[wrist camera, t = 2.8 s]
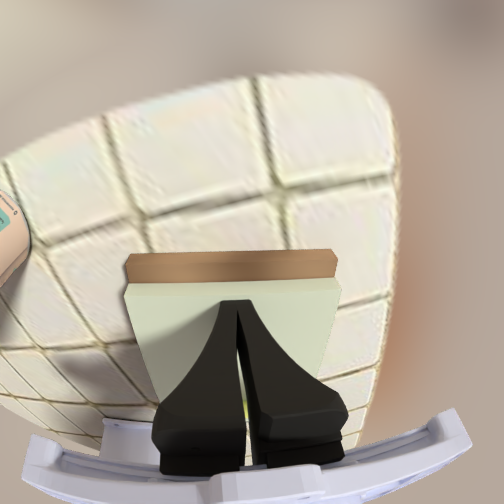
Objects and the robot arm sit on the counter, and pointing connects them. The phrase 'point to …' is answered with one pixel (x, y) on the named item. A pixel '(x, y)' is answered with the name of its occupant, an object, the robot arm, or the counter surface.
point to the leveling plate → (205, 313)
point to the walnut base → (231, 266)
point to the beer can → (12, 237)
